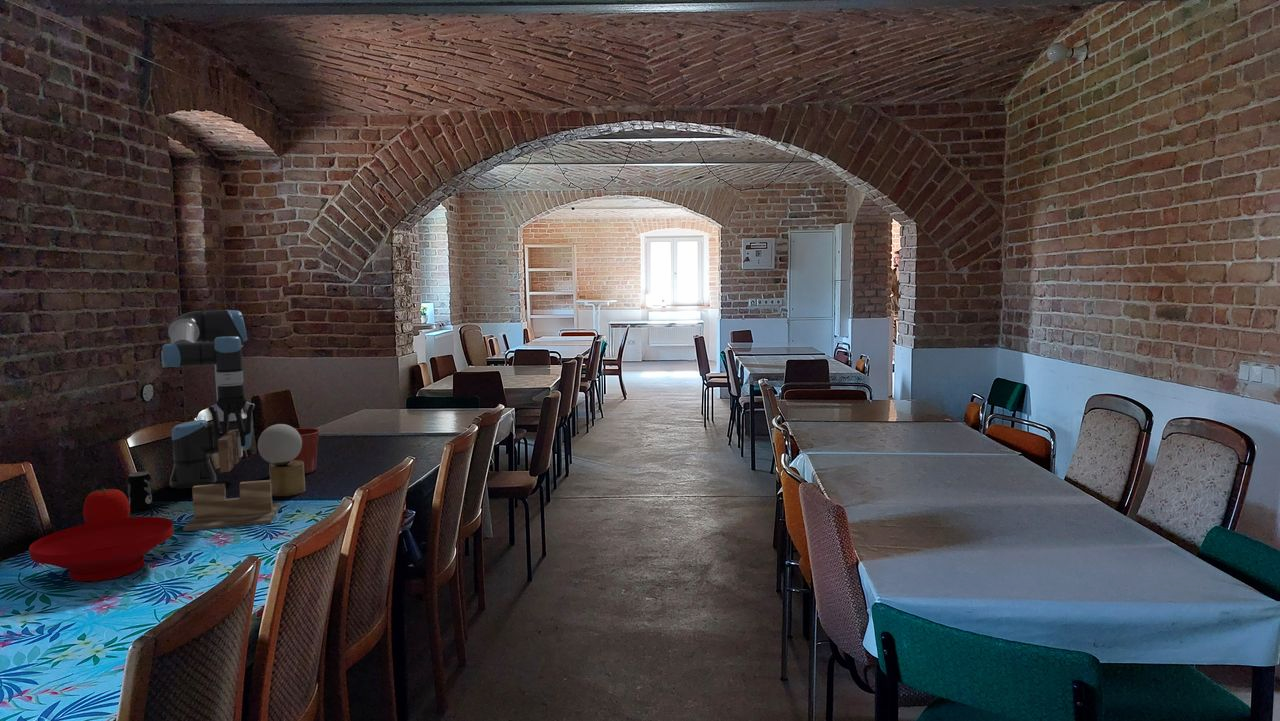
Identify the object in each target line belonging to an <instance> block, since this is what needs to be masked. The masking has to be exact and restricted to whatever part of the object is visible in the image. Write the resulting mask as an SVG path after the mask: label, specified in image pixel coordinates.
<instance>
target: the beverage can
mask: <svg viewBox="0 0 1280 721" xmlns="http://www.w3.org/2000/svg"><path fill="white" fill-rule="evenodd" d="M126 480H127V493H128V494H127V495H128V501H129V505H130V511H132V512H142V511H143V512H144V511H147V510H149V509H152V507H153V505H154V500H153V489H152V488H153V487H152V476H151V475H150V471H136V472H132V473H129V474H128V477H127V479H126Z"/></svg>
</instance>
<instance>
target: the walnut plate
mask: <svg viewBox="0 0 1280 721" xmlns="http://www.w3.org/2000/svg"><path fill="white" fill-rule="evenodd" d="M238 436H240V435H239V429H238V430H230V431H229V432H227V433H226V434H225V435H224V436H222V437H221V438H220V439H218V449H219V453H218V462H219V473H229V472H230V471H232V469H233V468H234V467H235V465H237V464H239V462H240V461H241V460H242V457H239V453H238V438H237V437H238Z"/></svg>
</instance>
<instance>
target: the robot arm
mask: <svg viewBox="0 0 1280 721" xmlns="http://www.w3.org/2000/svg"><path fill="white" fill-rule="evenodd" d="M168 326H169V327H168V329H167V330H168V331H167V332H168V333H167V334H168V337H169V338H170V343H166V344H165V343H164V344H163V345H162V347H161V350H162V352H161V353H162V361H163V362H162V363H163V366H164V367H166V368H181V367H193V366H194V367H196V366H199V367H200V366H214V377H215V380H214V381H215V391H216V393H215V394H216V403H215V404H213V405H210V406H208V410H209V412H210V413H211V416H212V422H210V423H208V421H207V420H206V419H197V420H191V421H187V422H183V423H179V424H177V425H175V426H173V427H172V429H171V441H172V457H173V459H172V460H173V467H172V471H171V475H170V478H169V487H170V488H172V489H192V487H193V486H199V485H212V484H215V483H216V482H217V474H216V471H215V470H214V468H213V465H212V464H211V460H210V455H214V454H215V455H216V454H219V449H218V439H220V438H221V437H222V436H224V435H225V434H226V433H227V432H229V431H230V430H238V429H239V435H240V436H238V437H237V438H238V453H239V457H241V458H242V457H243V456H244V452H243V451H248V450H249V449H250V448H251V447H252V446H251V445H252V439H253V410H254V409H255V407H256V405H255V403H254V402H253V403H251V402H248V400H247V399H246V398H245V386H244V385H243V383H244V370H243V369H244V368H243V356H242V355H243V354H242V348H243V347H244V342H246V341H248V335H247V329H246V325H245V319H244V316H243V313H242V312H241V311H240V310H233V309H221V310H194V311H189V312H186V313H183V314H181V315H179V316H178V317H176V318H175V319H173V320H172V321H171V322H170V324H169V325H168ZM244 407H245V409H246V410H247V411H246V412H244Z"/></svg>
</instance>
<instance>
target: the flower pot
mask: <svg viewBox="0 0 1280 721" xmlns="http://www.w3.org/2000/svg"><path fill="white" fill-rule="evenodd" d="M295 429H296V430H297V431H298V433H299V434H300V436H301V439H302V448H301V451H300V453H299V454H298V456H297V457H296V458H295V459H293V460H299V461H303V462H304V473H305V475H307V474H310V473H313V472H314V471H316V470H317V463H318V441H319V434H320V431H321V429H319V428H313V427H302V428H301V427H299V428H298V427H297V428H295Z"/></svg>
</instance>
